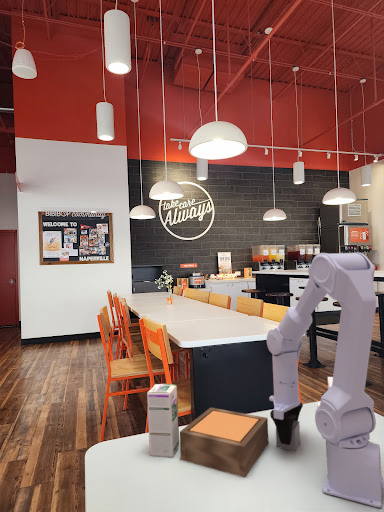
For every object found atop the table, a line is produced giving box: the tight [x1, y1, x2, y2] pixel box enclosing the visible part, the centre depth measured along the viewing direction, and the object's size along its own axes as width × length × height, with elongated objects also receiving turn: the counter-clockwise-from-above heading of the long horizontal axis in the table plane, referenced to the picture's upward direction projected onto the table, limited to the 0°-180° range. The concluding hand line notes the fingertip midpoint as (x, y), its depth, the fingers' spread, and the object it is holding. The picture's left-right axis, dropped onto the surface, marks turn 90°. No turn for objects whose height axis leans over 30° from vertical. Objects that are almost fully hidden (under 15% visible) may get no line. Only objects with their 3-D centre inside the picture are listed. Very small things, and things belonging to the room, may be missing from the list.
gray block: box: [275, 420, 301, 452], centre depth 82 cm, size 4×4×5 cm
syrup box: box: [146, 383, 180, 458], centre depth 82 cm, size 6×6×14 cm
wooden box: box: [179, 407, 270, 478], centre depth 80 cm, size 15×15×6 cm
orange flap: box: [190, 411, 259, 443], centre depth 80 cm, size 12×12×1 cm
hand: (288, 438), depth 82 cm, fingers closed on gray block, 4 cm apart
